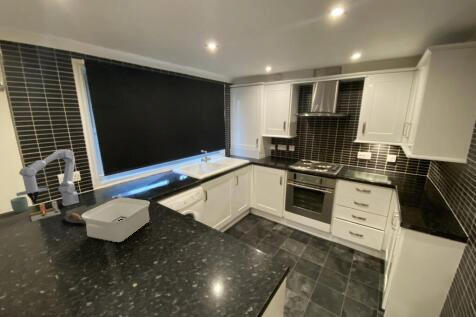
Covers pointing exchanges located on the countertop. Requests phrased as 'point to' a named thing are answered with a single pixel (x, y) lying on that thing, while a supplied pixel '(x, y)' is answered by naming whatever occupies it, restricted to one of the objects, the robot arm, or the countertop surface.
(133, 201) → the white sink basin
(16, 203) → the cup
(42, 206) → the slider leg
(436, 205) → the countertop surface
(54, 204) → the rail
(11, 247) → the countertop surface
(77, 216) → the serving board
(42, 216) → the bolt plate
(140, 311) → the countertop surface
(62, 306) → the countertop surface
